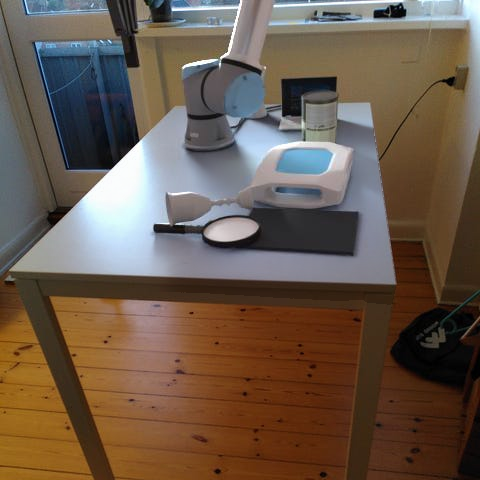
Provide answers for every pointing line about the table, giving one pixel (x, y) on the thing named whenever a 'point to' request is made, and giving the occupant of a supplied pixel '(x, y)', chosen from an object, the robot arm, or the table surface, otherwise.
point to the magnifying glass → (219, 231)
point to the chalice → (200, 205)
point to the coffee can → (319, 116)
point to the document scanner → (303, 174)
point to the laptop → (292, 97)
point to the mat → (305, 231)
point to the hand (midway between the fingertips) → (133, 67)
